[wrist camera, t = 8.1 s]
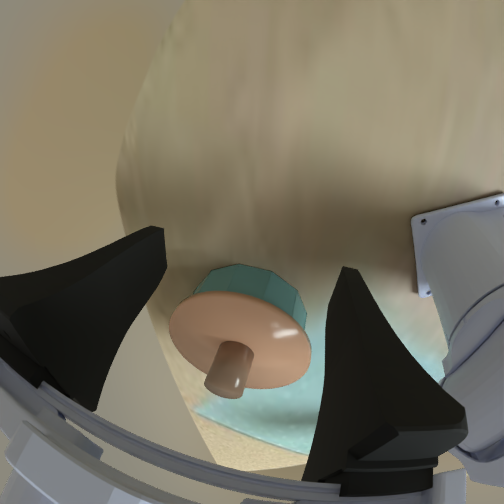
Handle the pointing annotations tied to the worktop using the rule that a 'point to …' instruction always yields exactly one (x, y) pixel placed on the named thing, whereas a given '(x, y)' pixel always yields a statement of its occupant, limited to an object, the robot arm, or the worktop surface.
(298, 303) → the bowl
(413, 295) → the worktop surface
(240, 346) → the lid
